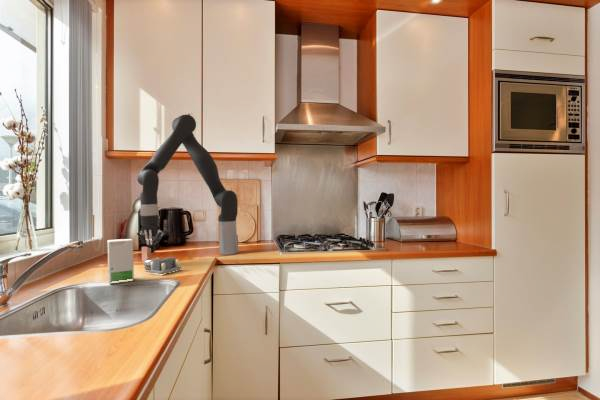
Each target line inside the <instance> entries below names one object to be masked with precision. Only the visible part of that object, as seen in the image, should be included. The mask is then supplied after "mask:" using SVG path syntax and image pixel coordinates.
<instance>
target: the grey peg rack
mask: <svg viewBox="0 0 600 400" xmlns="http://www.w3.org/2000/svg"><path fill="white" fill-rule="evenodd" d="M158 259H160V258H159V257H158V256H157V257H155V258H152V253H151V248H149V247H148V246H141V263H143V265H144V267H145V266H151V262H153V261H154V260H158Z"/></svg>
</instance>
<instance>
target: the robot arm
mask: <svg viewBox="0 0 600 400" xmlns="http://www.w3.org/2000/svg"><path fill="white" fill-rule="evenodd" d="M171 127H172V133H171V134H170V135H169V136H168V138H167V139H165V141H164V142H163V143H162V144H161V145H160V146H159V148H157V150H156V151H154V154H153V155H152V157H151V158H150V160H149V161H148V162H147V163H146V164H145V165H144V166H143V167H142V168H141V170H140V171H139V172H138V173H137V183H138V184H139V185H141V186H142V191H141V193H140V197H139V198H140V199H139V200H140V209H139V210H140V211H139V212H140V225H141V228H140V229H141V230H140V231H139V232H137V233H136V234H137V237H138V238H139V239H140V240H141V242H142V243H143V244H146V245H147V247H149V248H151V254H154V253H155V252H156V244H159V242H160V241H161V239H162V238H163V236H164V235H165V231H162V230H161V229H160V226H159V225H160V214H159V212H160V211H159V205H158V203H159V201H158V189H159V184H160V182H159V181H160V180H159V179H160V178H159V174H160V172H162V171H163V170H164V169H165V168H166V167H167V165H168V163H169V162H170V161H171V160H172V158H173V156H174V155H175V153H176V152H177V151H178V149H179V148H180V146H181V145H183V146H184V148H185V150H186V151H187V153H188V155H189V157H190V158H191V160H192V162H193V164H194V166H195V167H196V169H197V170H198V172H199V174H200V176H201V177H202V178H203V180H204V182H205V183H206V185H207V187H208V189H209V191H210V192H211V195H212V198H213V200H214V201H215V204H216V205H217V206H218V207H219V208H220V214H219V215H218V216H217V217H218V218H217V221H218V225H217V226H218V245H219V247H218V248H219V249H218V250H219V251H218V252H219V255H221V256H230V255H231V256H232V255H236V254H238V253H239V235H238V233H237V217H238V212H239V210H238V206H239V205H238V196H237V194H236V192H235V191H233V190H231V189H230V190H227V189H226V187H224V185H223V183H222V181H221V180H220V179H221V178H220V175H219V169H218V166H217V164H216V161H215V160H214V158H213V156H212V154H210V152H209V151H208V150H207V149H206V148H205V147H203V146H202V144H201V143H199V141H198V140H197V138H196V137H195V135H194V133H193V132H194V131H195V130H196V128H197V122H196V119H195V118H194V117H193V116H192V115H190V114H181V115H179V116H178V117H176V118H174V119H173V120H172V123H171Z"/></svg>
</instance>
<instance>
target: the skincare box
mask: <svg viewBox="0 0 600 400" xmlns="http://www.w3.org/2000/svg"><path fill="white" fill-rule="evenodd" d="M106 242H107V244H106V245H107V281H108V280H109V282H112V281H119V280H127V279H134V280H135V277H134V276H135V272H134V240H133V239H132V238H125V239H124V238H120V239H119V238H118V239H108V240H107V241H106ZM109 282H108V283H109Z"/></svg>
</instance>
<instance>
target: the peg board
mask: <svg viewBox="0 0 600 400" xmlns="http://www.w3.org/2000/svg"><path fill="white" fill-rule="evenodd" d="M175 260H176V267H174V268H170V269H166V270H165V263H162V264H161V266H162V271H154V263H153V262H151V270H149V271H148V273H149V272H150V273H158V274H164V273H169V272H173V271H176V270H180V269H181V270H182V266H180V259H175ZM181 270H180V271H181ZM173 273H174V272H173ZM169 274H170V273H169Z"/></svg>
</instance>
